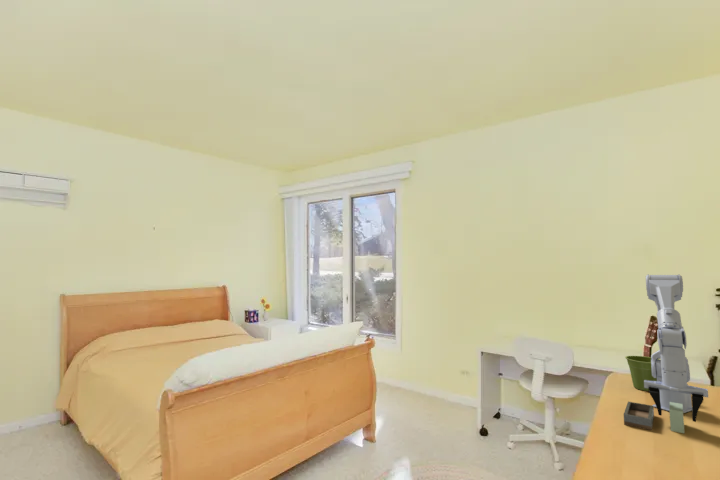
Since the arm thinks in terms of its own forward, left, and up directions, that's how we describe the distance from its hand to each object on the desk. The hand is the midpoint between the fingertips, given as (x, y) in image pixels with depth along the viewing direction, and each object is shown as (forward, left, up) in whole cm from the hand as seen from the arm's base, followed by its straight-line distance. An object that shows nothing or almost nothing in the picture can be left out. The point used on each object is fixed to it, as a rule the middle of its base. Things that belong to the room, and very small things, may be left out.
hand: (676, 417), depth 113 cm
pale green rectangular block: (0, 0, -3) cm, 3 cm away
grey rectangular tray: (+4, -8, -3) cm, 9 cm away
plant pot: (-31, -25, -3) cm, 40 cm away
